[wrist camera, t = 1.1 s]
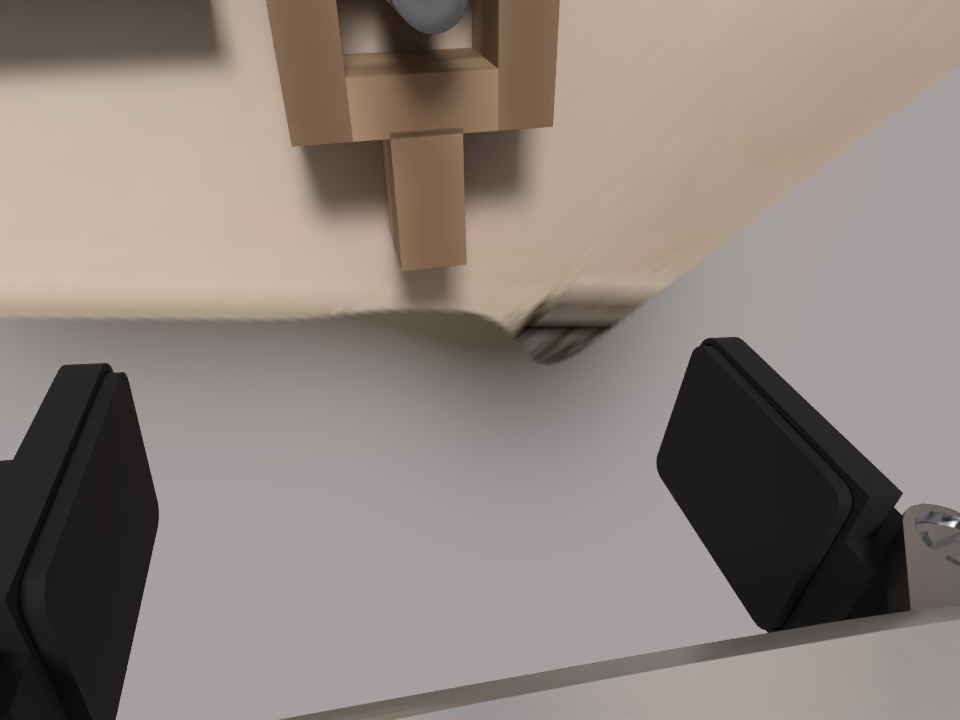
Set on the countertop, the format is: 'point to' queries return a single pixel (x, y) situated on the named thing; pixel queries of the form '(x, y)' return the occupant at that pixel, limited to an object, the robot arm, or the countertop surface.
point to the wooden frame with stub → (418, 106)
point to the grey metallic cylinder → (430, 13)
